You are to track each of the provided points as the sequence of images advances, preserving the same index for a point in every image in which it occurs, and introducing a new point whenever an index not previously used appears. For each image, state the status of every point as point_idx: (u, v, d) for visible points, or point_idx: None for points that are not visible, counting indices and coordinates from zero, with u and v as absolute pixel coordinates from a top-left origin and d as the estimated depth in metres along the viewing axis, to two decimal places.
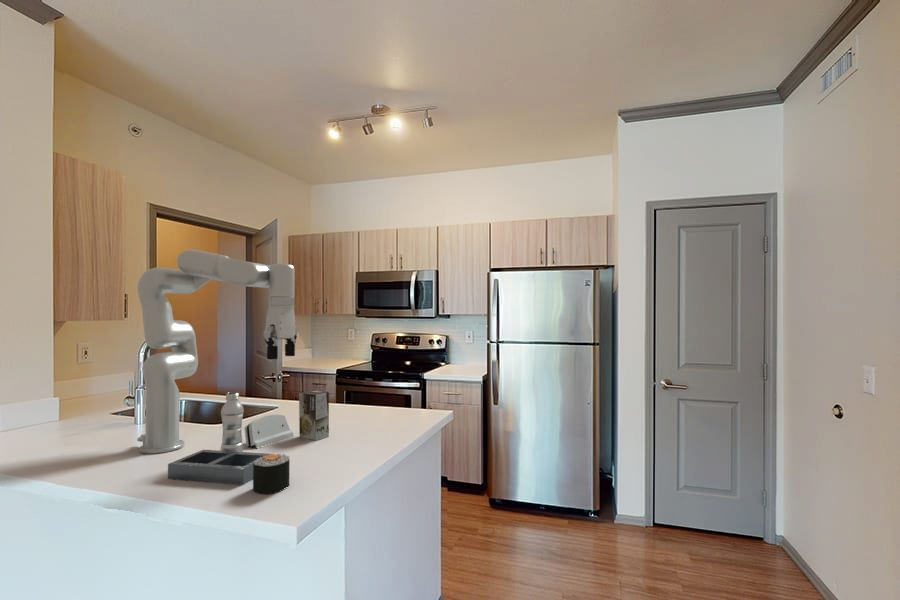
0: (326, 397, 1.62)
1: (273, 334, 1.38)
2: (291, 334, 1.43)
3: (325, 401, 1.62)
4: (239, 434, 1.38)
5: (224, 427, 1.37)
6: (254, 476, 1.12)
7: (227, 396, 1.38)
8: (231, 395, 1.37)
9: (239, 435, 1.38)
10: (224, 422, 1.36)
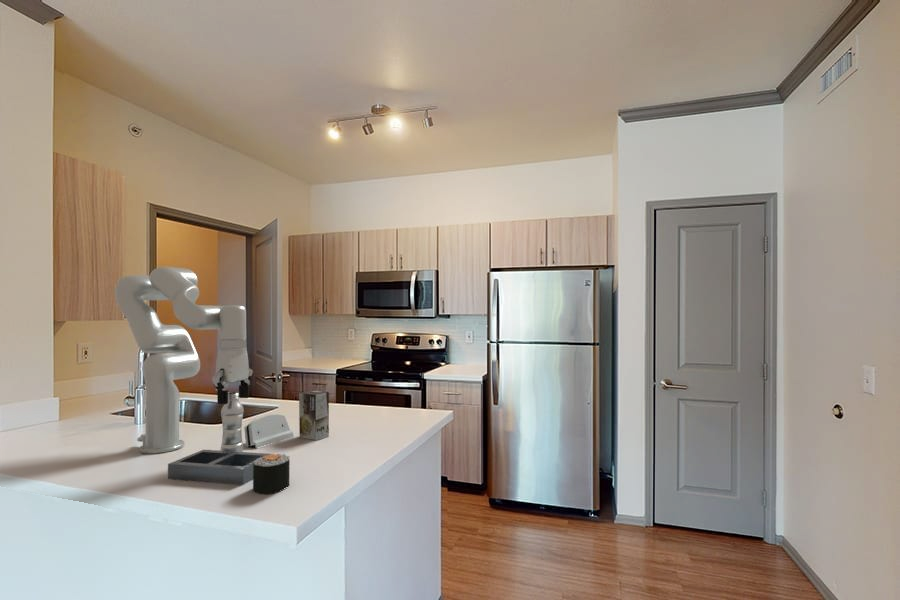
0: (326, 397, 1.62)
1: (224, 378, 1.36)
2: (244, 376, 1.41)
3: (325, 401, 1.62)
4: (239, 434, 1.38)
5: (224, 427, 1.37)
6: (254, 476, 1.12)
7: None
8: (231, 395, 1.37)
9: (239, 435, 1.38)
10: (224, 422, 1.36)
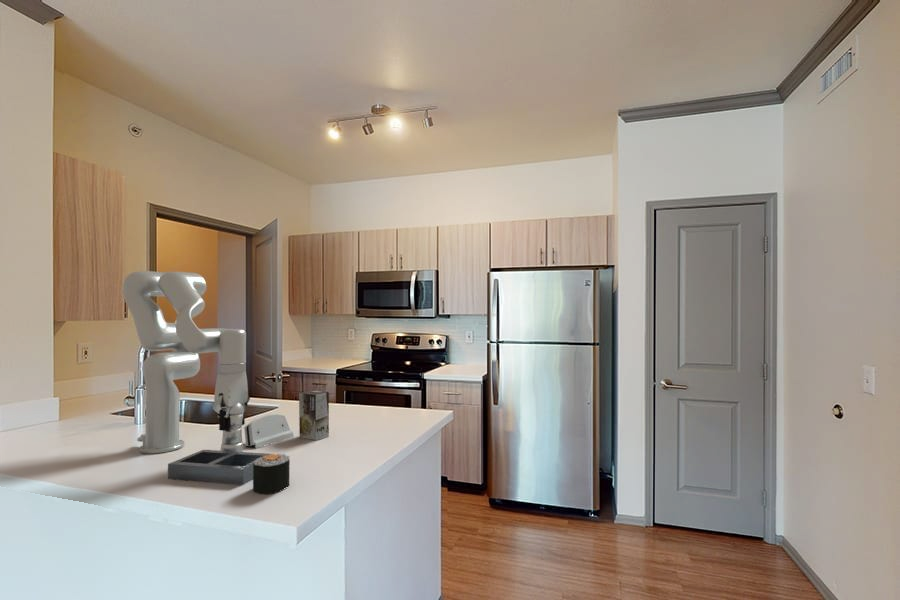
0: (326, 397, 1.62)
1: (224, 403, 1.36)
2: (243, 400, 1.41)
3: (325, 401, 1.62)
4: (239, 434, 1.38)
5: None
6: (254, 476, 1.12)
7: None
8: None
9: (239, 435, 1.38)
10: None
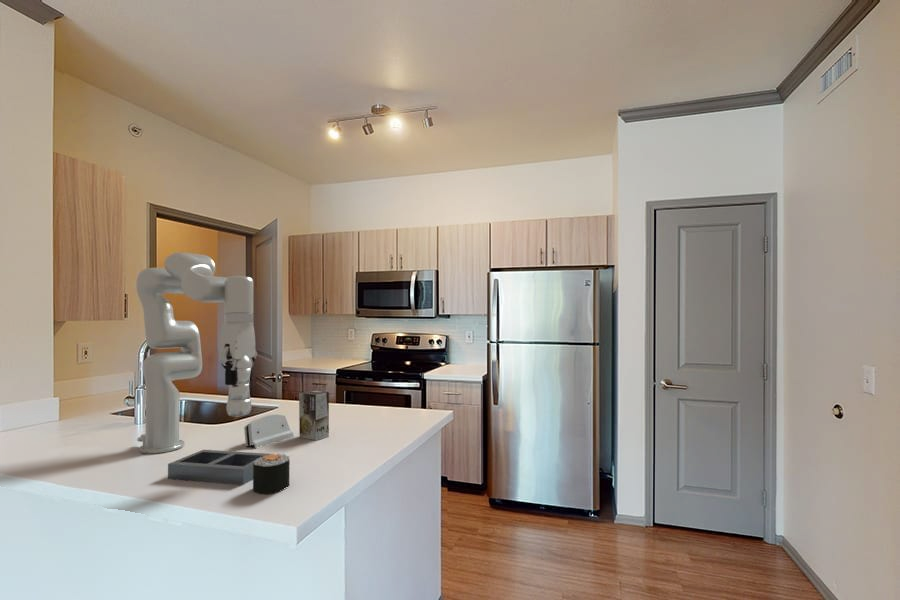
0: (326, 397, 1.62)
1: None
2: (250, 354, 1.30)
3: (325, 401, 1.62)
4: (247, 390, 1.27)
5: None
6: (254, 476, 1.12)
7: None
8: None
9: (247, 391, 1.27)
10: None
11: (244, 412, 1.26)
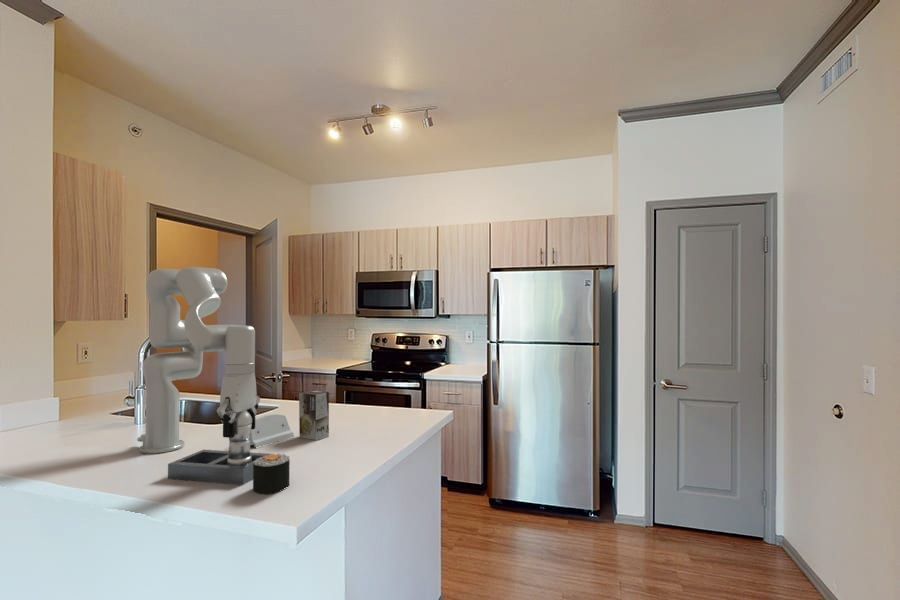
0: (326, 397, 1.62)
1: (229, 407, 1.22)
2: (251, 404, 1.27)
3: (325, 401, 1.62)
4: (247, 447, 1.25)
5: (231, 439, 1.23)
6: (254, 476, 1.12)
7: None
8: None
9: (247, 448, 1.25)
10: None
11: None
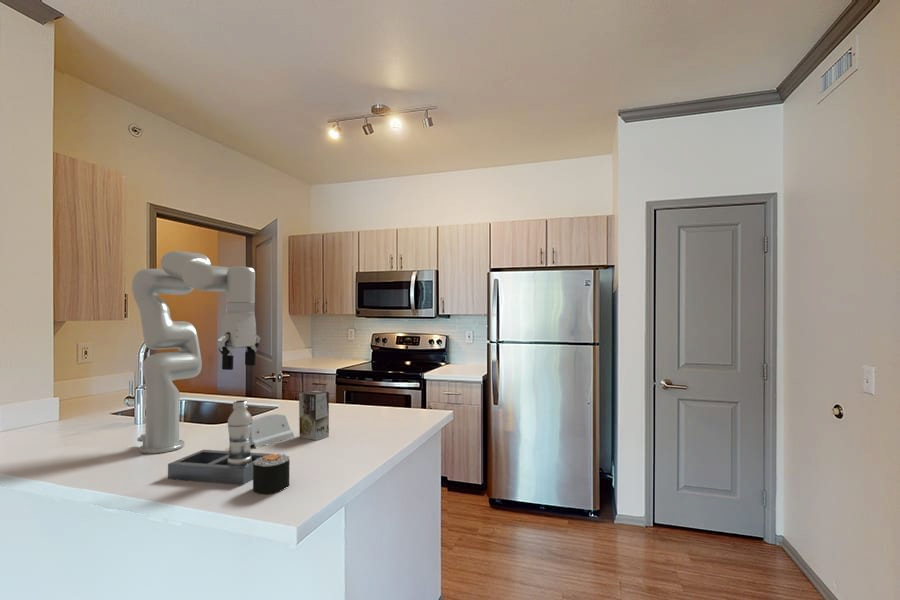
0: (326, 397, 1.62)
1: (229, 342, 1.28)
2: (251, 342, 1.33)
3: (325, 401, 1.62)
4: (248, 447, 1.25)
5: (231, 439, 1.23)
6: (254, 476, 1.12)
7: (234, 405, 1.24)
8: (239, 404, 1.24)
9: (248, 448, 1.25)
10: (231, 434, 1.23)
11: None
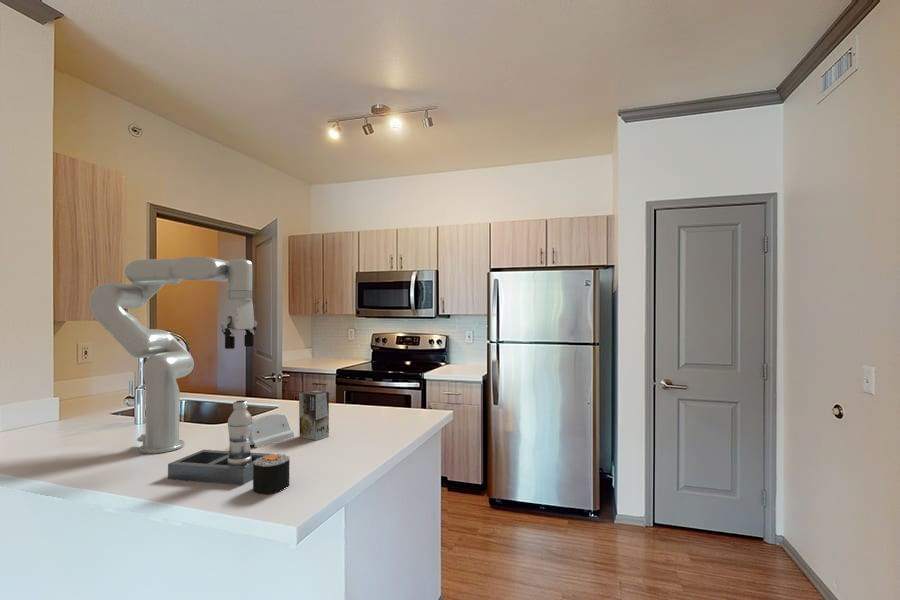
0: (326, 397, 1.62)
1: (231, 325, 1.47)
2: (249, 326, 1.52)
3: (325, 401, 1.62)
4: (248, 447, 1.25)
5: (231, 439, 1.23)
6: (254, 476, 1.12)
7: (235, 405, 1.24)
8: (239, 404, 1.24)
9: (248, 448, 1.25)
10: (231, 434, 1.23)
11: None
